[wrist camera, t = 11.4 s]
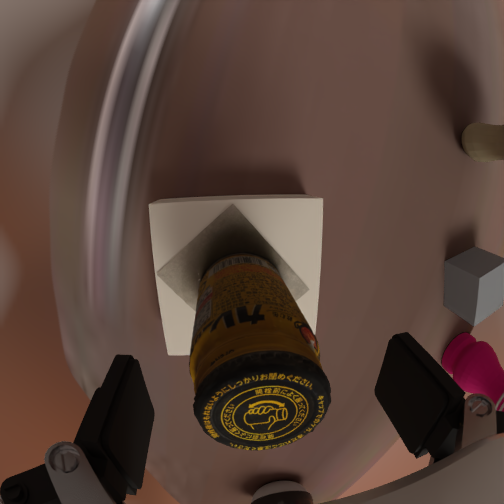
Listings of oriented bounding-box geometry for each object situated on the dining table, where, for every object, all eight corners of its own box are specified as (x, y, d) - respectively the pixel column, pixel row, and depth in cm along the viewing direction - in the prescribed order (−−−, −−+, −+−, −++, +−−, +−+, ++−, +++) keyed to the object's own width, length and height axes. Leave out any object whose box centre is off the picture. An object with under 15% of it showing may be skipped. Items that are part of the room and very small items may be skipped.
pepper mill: (474, 345, 32) (553, 413, 13) (443, 378, 33) (516, 457, 14) (468, 319, 30) (563, 392, 11) (433, 355, 31) (522, 446, 12)
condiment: (236, 346, 22) (254, 476, 10) (156, 273, 20) (96, 385, 8) (308, 288, 21) (388, 394, 10) (232, 202, 19) (253, 246, 7)
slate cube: (444, 260, 27) (479, 278, 21) (474, 246, 27) (508, 259, 21) (443, 305, 29) (473, 326, 23) (472, 288, 29) (502, 305, 23)
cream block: (160, 199, 22) (148, 204, 18) (306, 194, 23) (323, 198, 19) (174, 330, 25) (168, 355, 21) (301, 323, 26) (313, 345, 23)
